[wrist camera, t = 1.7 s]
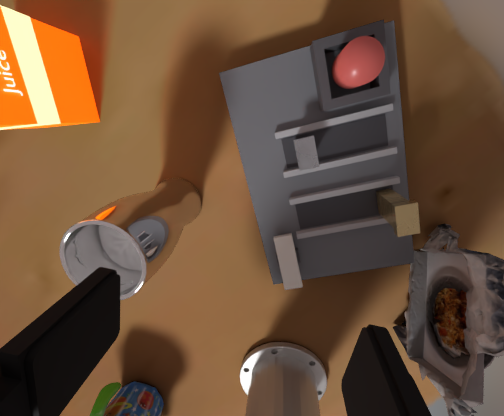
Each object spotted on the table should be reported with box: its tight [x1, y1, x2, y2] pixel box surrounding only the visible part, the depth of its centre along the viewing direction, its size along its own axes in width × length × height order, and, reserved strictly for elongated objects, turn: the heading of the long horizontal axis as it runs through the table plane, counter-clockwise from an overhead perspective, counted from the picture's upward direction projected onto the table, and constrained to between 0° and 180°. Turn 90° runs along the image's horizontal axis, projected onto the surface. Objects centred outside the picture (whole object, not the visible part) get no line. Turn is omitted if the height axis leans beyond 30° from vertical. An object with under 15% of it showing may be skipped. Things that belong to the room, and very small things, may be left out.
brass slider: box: [376, 189, 420, 237], centre depth 26 cm, size 3×2×6 cm, turn 14°
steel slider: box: [293, 135, 319, 171], centre depth 26 cm, size 3×2×3 cm, turn 14°
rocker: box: [274, 233, 303, 290], centre depth 30 cm, size 6×2×1 cm, turn 14°
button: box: [331, 36, 385, 89], centre depth 22 cm, size 3×3×4 cm
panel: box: [219, 20, 414, 284], centre depth 28 cm, size 24×16×5 cm, turn 14°
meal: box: [393, 224, 504, 416], centre depth 27 cm, size 15×4×13 cm, turn 176°
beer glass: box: [60, 178, 201, 300], centre depth 27 cm, size 7×7×15 cm
